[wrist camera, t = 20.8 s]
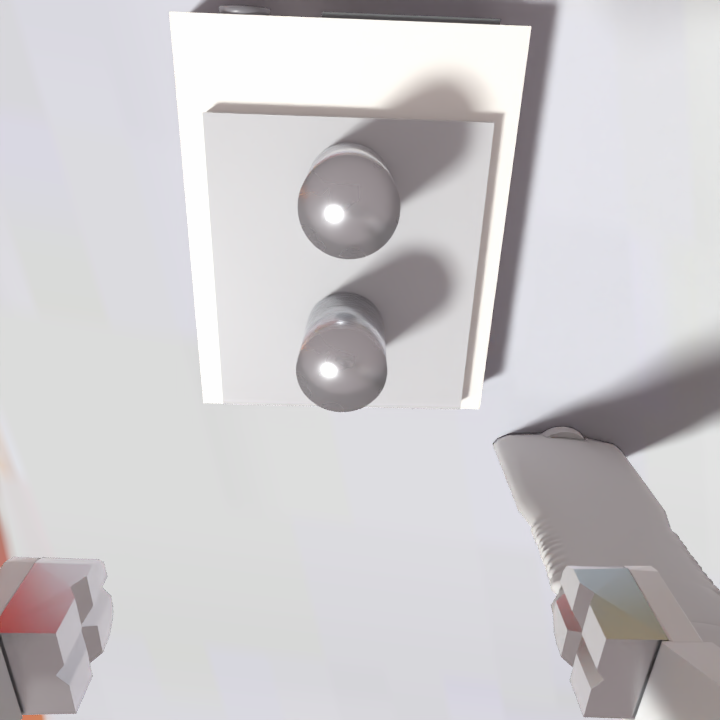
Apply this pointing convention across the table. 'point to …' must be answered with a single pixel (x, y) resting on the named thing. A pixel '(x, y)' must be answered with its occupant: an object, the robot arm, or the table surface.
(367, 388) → the cylinder
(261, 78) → the white rimmed tray
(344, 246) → the cylinder
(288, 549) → the table surface
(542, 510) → the tall pale column
